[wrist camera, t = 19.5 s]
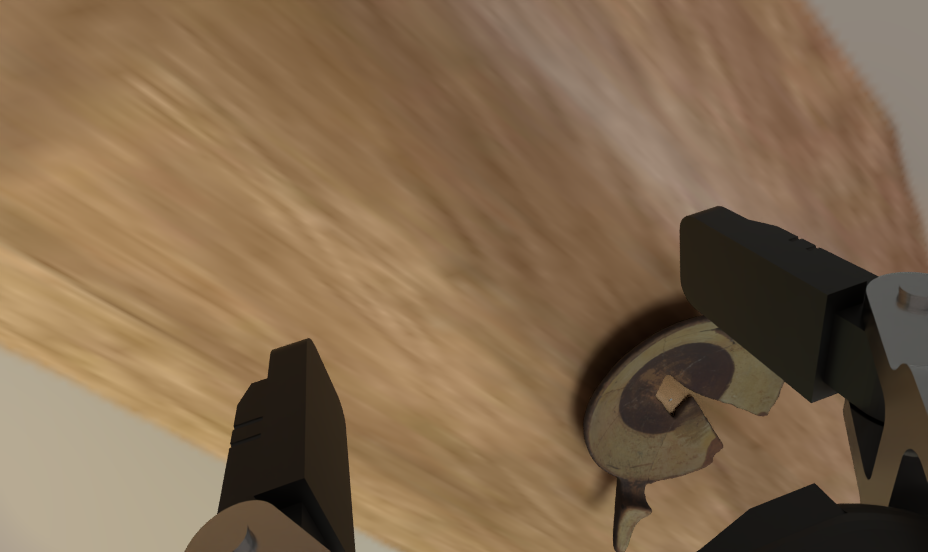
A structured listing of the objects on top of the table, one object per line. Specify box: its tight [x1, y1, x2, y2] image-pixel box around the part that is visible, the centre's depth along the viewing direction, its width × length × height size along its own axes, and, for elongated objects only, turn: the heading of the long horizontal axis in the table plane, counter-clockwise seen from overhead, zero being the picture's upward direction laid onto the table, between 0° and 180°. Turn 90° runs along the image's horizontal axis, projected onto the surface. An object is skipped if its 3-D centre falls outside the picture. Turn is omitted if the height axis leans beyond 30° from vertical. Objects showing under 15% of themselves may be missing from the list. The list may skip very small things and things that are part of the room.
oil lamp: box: [583, 315, 785, 552], centre depth 58 cm, size 22×30×8 cm
